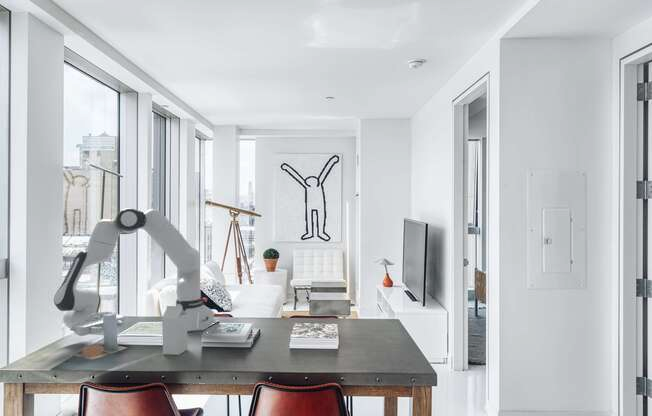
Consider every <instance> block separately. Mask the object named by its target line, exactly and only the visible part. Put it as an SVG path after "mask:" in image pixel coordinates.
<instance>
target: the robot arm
mask: <svg viewBox="0 0 652 416" xmlns="http://www.w3.org/2000/svg"><path fill="white" fill-rule="evenodd" d="M138 230H144V231H145V232H146V233H148V235H149V236H150V237H151V238H152V240H154V242H155V243H156V244H157V245H158V246H159V247H160V248H161V249H162V250H163V252H164V253H165V254H166V256H167V257H168V258H169V259H170V261H171V262H172V263H173V264H174V266H176V301H175V306H182V308H183V310H184V311H185V312H186V314H187V332H193V331H204V330H206V329H209V328H210V327H209V326H210V325H211V324H212V323H216V322H219V323H220V320H219V319H217V318H215V314H214V310H212V309H211V308H209V307H207V305H205V304H204V302H205V303H207V302H208V298H207V297H202V295H201V255H200V252H199V250H197V249H196V248H194V247H192V246H191V245H190V243H189V242H188V241H187V240H186V239H185V237H184V236H183V235H182V233H181V232H180V231H179V230H178V229H177V228H176V226H174V224H172V223H171V221H170V220H169V219H168V218H167V217H166V216H165V215H164V214H162V212H160V211H159V210H157V209H155V208H151V209H147V210H146V211H145V212H143V211H141V210H138V209H136V208H131V207H130V208H128V207H127V208H123V209H121V210H120V211H118V213H117V214H116V217H115V219H107V218H105V219H100V220H99V221H97V223H96V225H95V226H94V228H93V230H92V233H91V235H90V238H89V241H88V243H87V245H86V247H85V248H84V249H83V250H82V251H79V252H78V253H77V254H76V255H75V257H74V259H73V262H72V263H71V265H70V268H69V269H68V272H66V273H67V274H66V275H65V278H64V280H63V281H62V283H61V286H60V287H59V289H57V291H56V293H55V295H54V297H53V304H54V305H55V307H56V308H57V309H58V310H59V311H61V312H65V313H64V315H63V323H64V326H65V327H67V328H68V329H69V331H70V332H73V333H74V334H75V335H77V336H82V337H84V336H87V335H95V334H97V333H99V334H100V333H104V330H103V315H105V314H112V311H102V312H98V311H99V310H100V307H101V301H102V300H101V295H100V294H99V292H98V291H97V290H93V289H86V288H84V289H83V288H77V285H78V283H79V281H80V278H81V276H82V274H83V272H84V270H86V269H87V268H88V267H90V266H93V265H97V264H101V263H104V262H106V261H108V260H109V259H111V258H112V257H113V255H114V252H115V248H116V245H117V242H118V238H119V236H120V235H130V234H133V233H136V232H137V231H138ZM115 314H116V320H117V328H118V327H119V328H121V327H123V326H124V325H125V323H126V317H125V316H124V315H123V314H119V313H115ZM208 327H209V328H208Z"/></svg>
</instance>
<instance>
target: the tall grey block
mask: <svg viewBox="0 0 652 416" xmlns="http://www.w3.org/2000/svg"><path fill="white" fill-rule="evenodd" d="M116 314H117V313H112V314H105V315H103V346H104V350H114V349H116V348H117V345H118V326H117V320H116Z"/></svg>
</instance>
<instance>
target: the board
mask: <svg viewBox="0 0 652 416" xmlns="http://www.w3.org/2000/svg"><path fill="white" fill-rule="evenodd" d="M126 349H127V347H125V346H121V345H119V344H117V348H116V349H114V350H104V345H103V346H102V354H100V355H97V356H94V357H87V356H83V352H81V353H78V354H75V355H74V356H75V357H79V358H83V359H85V360H89V361H93V360H96V359H99V358H102V357H106V356H108V355H110V354H114V353H117V352H120V351H124V350H126Z"/></svg>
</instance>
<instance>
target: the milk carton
mask: <svg viewBox="0 0 652 416" xmlns="http://www.w3.org/2000/svg"><path fill="white" fill-rule="evenodd" d="M161 321H162V323H161V324H162V355H169V356H170V355H173V356H174V355H175V356H179V355H181V354H183V353H184V352H185V351H187V350H188V331H187V314H186V312H185V311H184V310H183V308H182V306H176V305H166V309H165V311H164V313H163V315H162V317H161Z"/></svg>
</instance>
